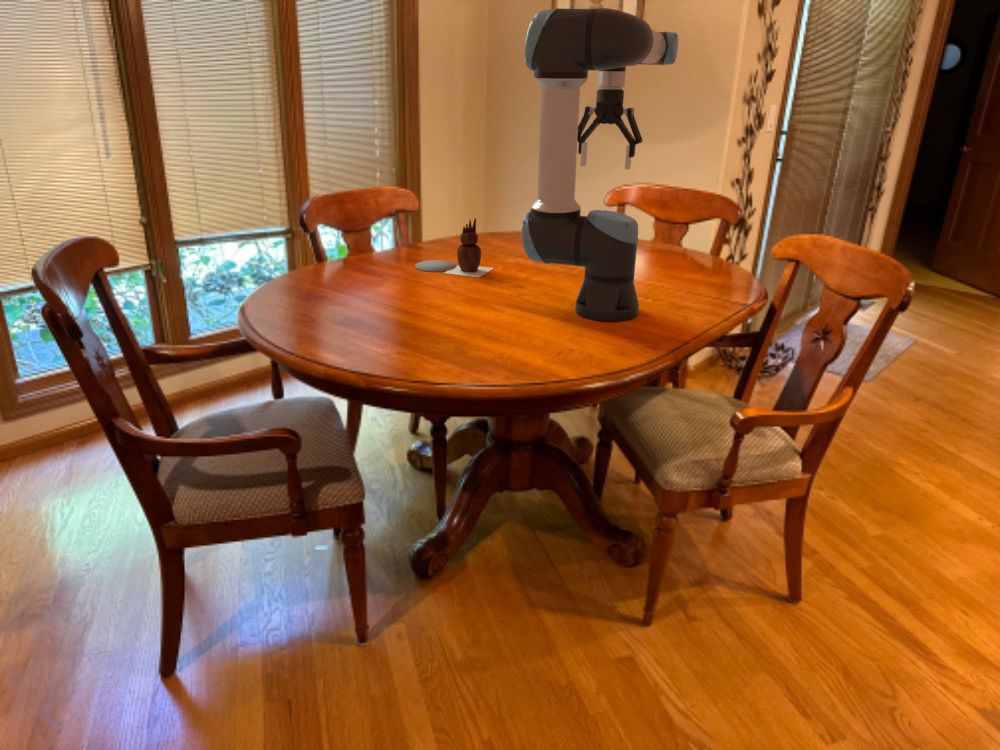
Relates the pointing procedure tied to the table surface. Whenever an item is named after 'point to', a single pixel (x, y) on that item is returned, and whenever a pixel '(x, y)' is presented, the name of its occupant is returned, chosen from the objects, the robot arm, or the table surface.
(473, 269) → the wooden figurine
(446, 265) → the coaster
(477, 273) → the white card
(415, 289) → the table surface
